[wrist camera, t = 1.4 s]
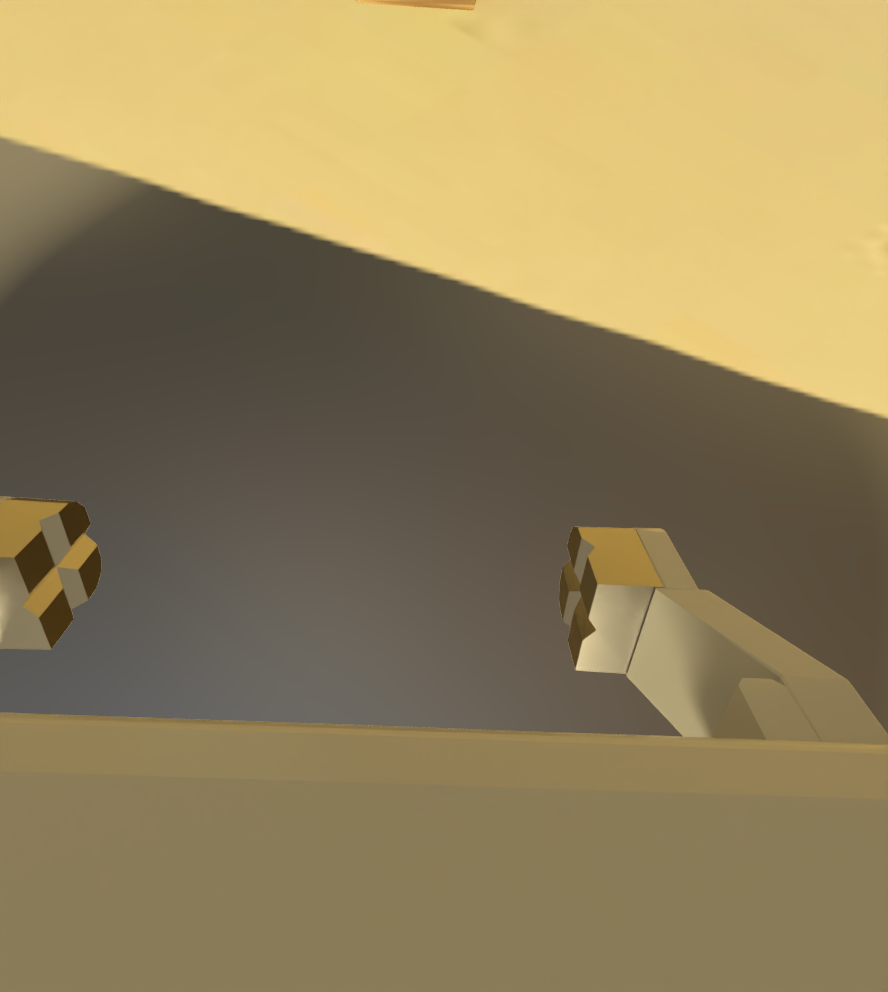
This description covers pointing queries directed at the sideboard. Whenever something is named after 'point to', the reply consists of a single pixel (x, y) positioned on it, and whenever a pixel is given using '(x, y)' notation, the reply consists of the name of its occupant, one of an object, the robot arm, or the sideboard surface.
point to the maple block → (426, 3)
